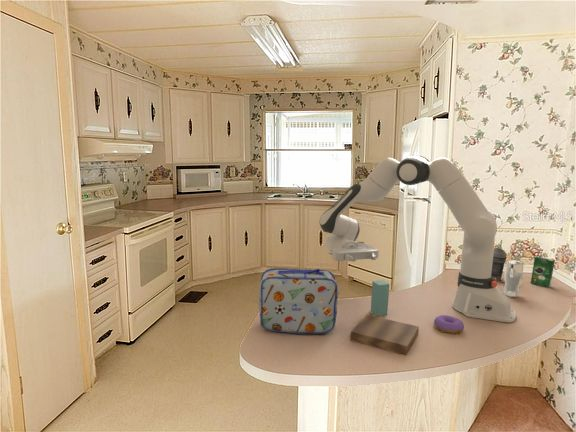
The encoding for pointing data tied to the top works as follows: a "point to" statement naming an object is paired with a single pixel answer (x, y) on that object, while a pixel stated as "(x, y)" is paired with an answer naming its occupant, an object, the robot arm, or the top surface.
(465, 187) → the robot arm
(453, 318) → the donut
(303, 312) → the lunch box
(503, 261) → the beverage cup
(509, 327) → the top surface
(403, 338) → the walnut riser
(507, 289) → the beer glass
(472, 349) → the top surface
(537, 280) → the coffee box
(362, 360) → the top surface
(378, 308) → the teal block
